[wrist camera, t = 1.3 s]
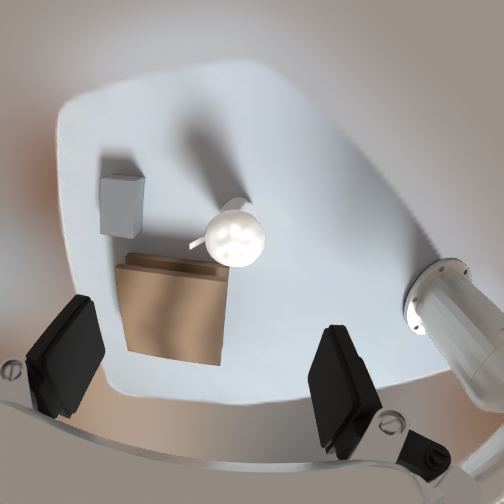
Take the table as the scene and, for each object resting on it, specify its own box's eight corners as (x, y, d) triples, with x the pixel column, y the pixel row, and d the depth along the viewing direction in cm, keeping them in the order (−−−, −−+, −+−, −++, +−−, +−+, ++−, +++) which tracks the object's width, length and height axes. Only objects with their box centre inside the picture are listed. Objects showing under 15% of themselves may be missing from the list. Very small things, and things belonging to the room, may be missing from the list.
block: (145, 176, 27) (135, 181, 24) (142, 229, 29) (132, 239, 26) (113, 173, 26) (100, 178, 24) (112, 225, 29) (100, 233, 26)
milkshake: (209, 188, 27) (188, 215, 18) (262, 192, 27) (269, 220, 18) (208, 231, 29) (189, 275, 20) (259, 234, 29) (262, 280, 20)
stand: (229, 264, 30) (226, 282, 27) (222, 344, 35) (220, 365, 31) (128, 252, 30) (114, 267, 26) (137, 331, 35) (128, 350, 31)
